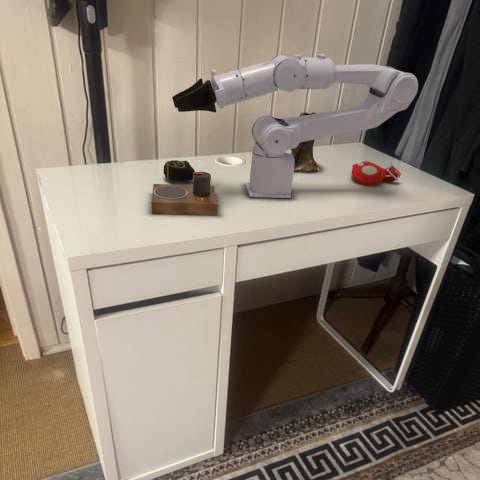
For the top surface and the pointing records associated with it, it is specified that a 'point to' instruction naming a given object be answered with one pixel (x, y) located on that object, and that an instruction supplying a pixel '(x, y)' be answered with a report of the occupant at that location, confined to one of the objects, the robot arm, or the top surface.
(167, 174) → the tape measure
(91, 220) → the top surface
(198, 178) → the dial
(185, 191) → the heating plate
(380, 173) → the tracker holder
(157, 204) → the warmer
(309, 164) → the tree stump
